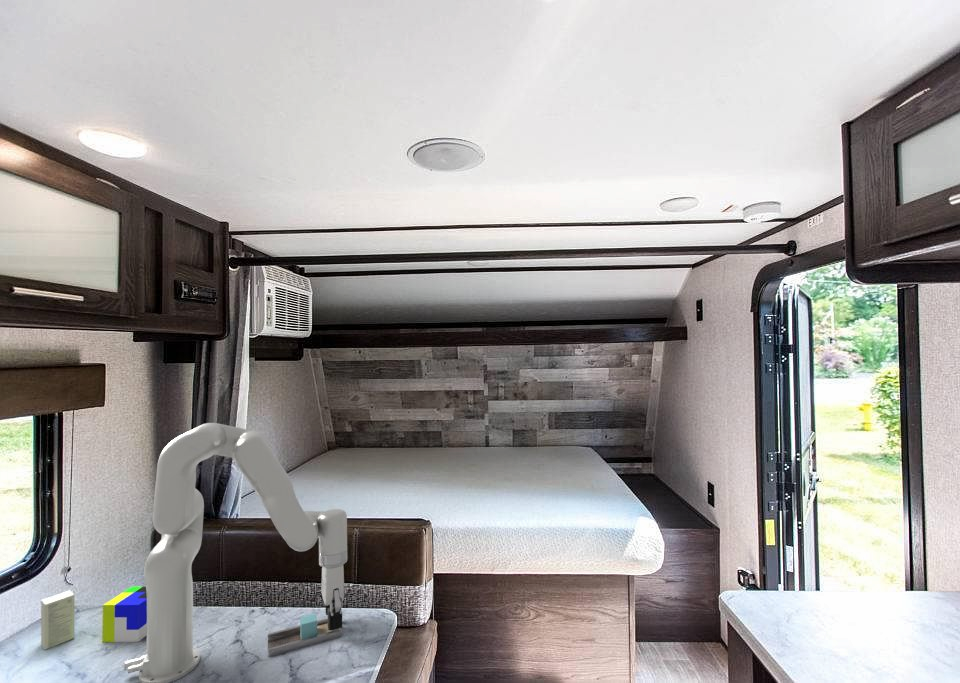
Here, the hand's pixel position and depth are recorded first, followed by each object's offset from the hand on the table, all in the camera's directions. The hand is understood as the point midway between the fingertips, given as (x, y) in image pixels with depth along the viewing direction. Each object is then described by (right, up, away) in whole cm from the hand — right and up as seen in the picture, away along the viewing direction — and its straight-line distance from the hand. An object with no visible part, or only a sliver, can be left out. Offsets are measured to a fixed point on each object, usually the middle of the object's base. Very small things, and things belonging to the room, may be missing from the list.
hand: (333, 620), depth 125 cm
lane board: (-7, -3, -3) cm, 8 cm away
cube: (-6, -2, -3) cm, 7 cm away
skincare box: (-76, -5, -2) cm, 76 cm away
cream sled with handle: (-3, -3, -2) cm, 4 cm away
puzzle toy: (-58, -5, +3) cm, 58 cm away
